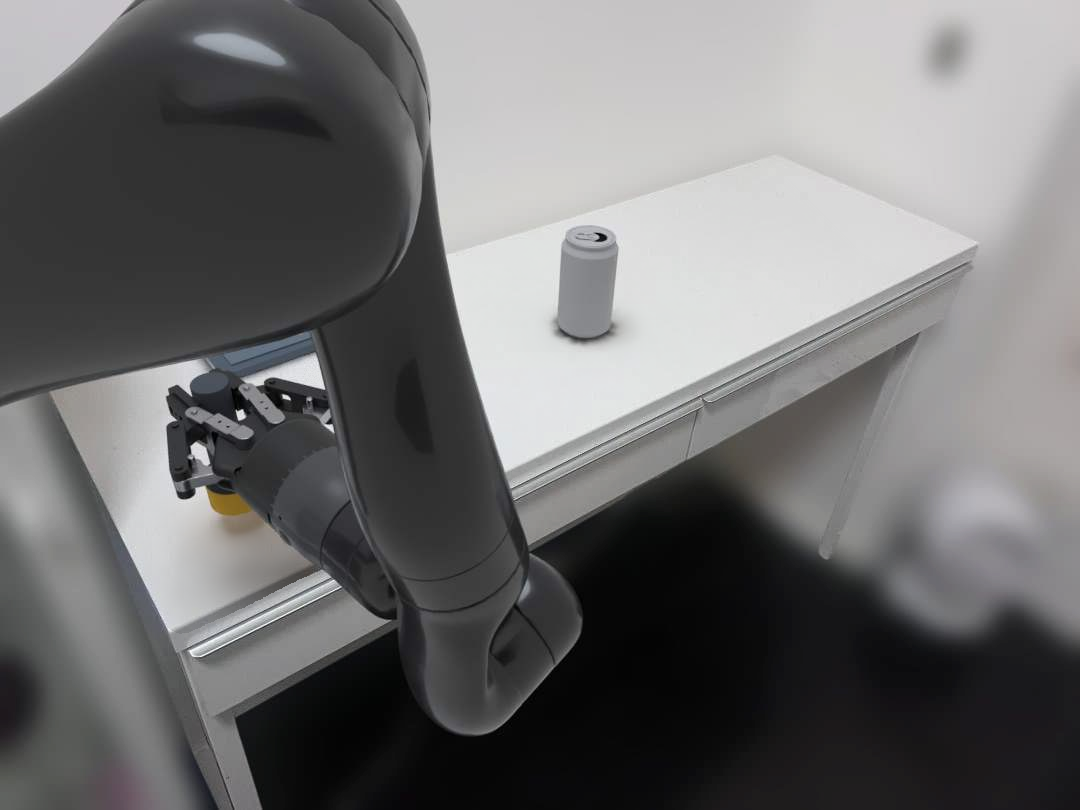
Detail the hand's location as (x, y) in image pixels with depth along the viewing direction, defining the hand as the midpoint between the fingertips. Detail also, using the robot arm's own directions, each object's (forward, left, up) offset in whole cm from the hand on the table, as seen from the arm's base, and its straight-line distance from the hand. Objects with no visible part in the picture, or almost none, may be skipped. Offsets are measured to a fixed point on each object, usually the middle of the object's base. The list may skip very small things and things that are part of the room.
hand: (194, 387), depth 64 cm
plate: (+1, +25, -12) cm, 28 cm away
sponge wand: (+2, -2, -10) cm, 10 cm away
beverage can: (+37, +25, -13) cm, 47 cm away
